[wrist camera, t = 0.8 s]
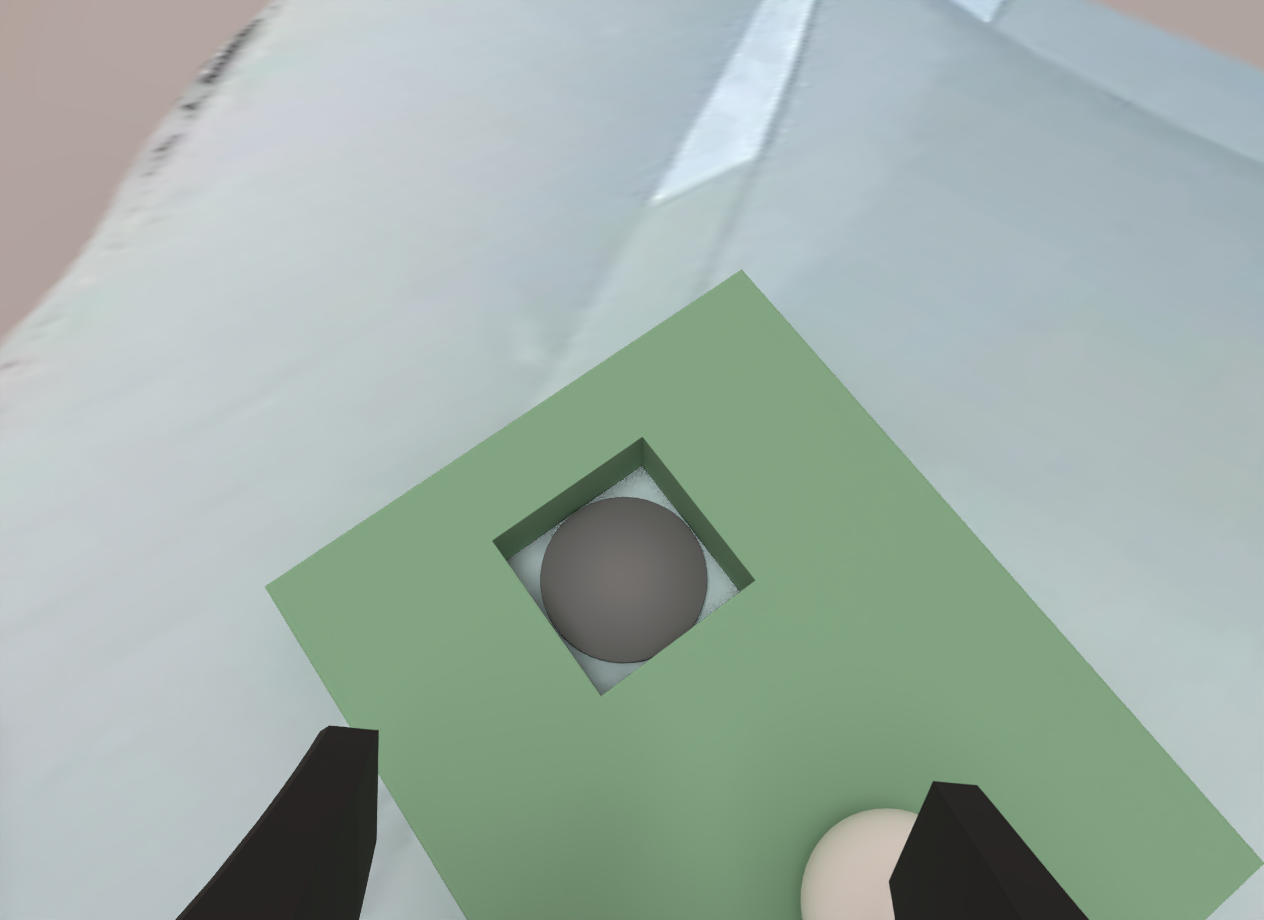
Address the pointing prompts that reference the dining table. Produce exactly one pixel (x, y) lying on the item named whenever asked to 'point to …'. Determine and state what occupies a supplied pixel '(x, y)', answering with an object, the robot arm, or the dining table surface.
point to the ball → (855, 867)
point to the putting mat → (723, 655)
